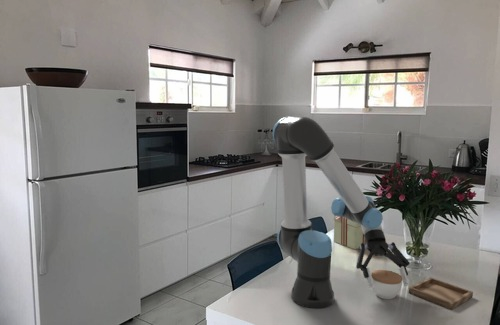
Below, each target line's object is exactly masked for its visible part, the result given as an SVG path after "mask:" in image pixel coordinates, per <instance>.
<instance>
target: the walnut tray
mask: <svg viewBox="0 0 500 325" xmlns="http://www.w3.org/2000/svg"><path fill="white" fill-rule="evenodd" d="M408 294H411V295H413V296H416V297H418V298H421V299H423V300H426V301H428V302H430V303H433V304H436V305H439V306H441V307H444V308H445V309H448V310H451V311H452V310H455V309H456V308H458V307H459V306H461V305H463V304H464V303H466V302H467V301H469V300H472V299H473V294H474V291H471V290H468V289H466V288H463V287H460V286H458V285H454V284H451V283H448V282H445V281H443V280H440V279H437V278H434V277H429V278H428V277H427V278H426V279H425V280H422V281H420V282H418V283H416V284H413V285H411V286H409V287H408Z"/></svg>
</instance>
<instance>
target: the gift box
mask: <svg viewBox="0 0 500 325" xmlns="http://www.w3.org/2000/svg"><path fill="white" fill-rule="evenodd" d="M333 221H334V228H333V242H334V243H336V244H338V245H341V246H344V247H347V248H350V249H352V250H358V249H359V250H360V248H359V246H360V245H361V244H362V243H364V244H365V245H367V244H366V241H365V238H364V234H363V230H362V227H361V225H360V224H358V223H356V222H353V221H351V220H349V219H347V218H344V217H338V216H335V215H333Z"/></svg>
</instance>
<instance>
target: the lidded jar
mask: <svg viewBox="0 0 500 325" xmlns="http://www.w3.org/2000/svg"><path fill="white" fill-rule="evenodd" d="M371 276H372V280H373V283H374V285H373V286H372V287H371V288H372V290H373V291H374V293H375V294H376V296H377V297H378V298H380V299H382V300H383V299H384V300H393V299H394V298H395V297H396V296H397V295H399V293H400V292H401V288H402V284H403V281H402V276H401V275H400V273H397V272H396V271H392V270H387V269H377V270H373V271H372V272H371Z"/></svg>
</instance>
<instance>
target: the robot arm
mask: <svg viewBox="0 0 500 325" xmlns="http://www.w3.org/2000/svg"><path fill="white" fill-rule="evenodd" d="M272 139H273V141H274V142H275V144H276V145H277V155H279V157H281V160H282V161H281V162H282V164H281V165H282V182H283V183H282V184H283V186H282V188H283V206H284V208H283V209H284V211H283V212H284V219H283V220H282V222H281V223H280V229H279V230H278V232H277V236H276V239H277V244H278V246H279V248H280V249H281V250H282V251H283V253H284V254H286V255H287V256H289V257H290V258H292V259H293V260H295V262H297V269H296V271H297V272H296V278H295V281H294V283H293V285H292V289H291V299H292V301H293V302H294V303H296V304H298V305H300V306H302V307H305V308H312V309H323V308H326V307H330V306H332V305H333V304H334V302H335V292H334V290H333V286H332V282H331V269H332V268H331V267H332V252H333V246H332V239H331V237H330V236H329V235H328V234H326V233H325V232H321V231H318V230H313V229H312V222H311V220H309V219H308V207H307V206H308V202H307V201H308V200H307V177H306V176H307V175H306V172H307V171H306V170H307V169H306V157H308V159H309V160H310V161H311V162H315V164H316V165H317V166H318V168H319V169H320V170H321V172H322V174H323V175H324V177H326V179H327V180H328V182H329V183H330V185H331V186H332V188H333V189H334V190H335V192H336V193H337V194H338V196H339V197H336V198H334V199H333V200H332V202H331V206H330V212H331V213H332V214H333V216H334V215H335V216H338V217H344V218H347V219H349V220H351V221H353V222H356V223H358V224H360V225H361V227H362V230H363V234H364V238H365V241H366V244H367V245H365V244H364V243H362V244H361V245H360V246H359V254H358V259H357V262H356V266H355V267H356V269H360V271H361V272H362V274H363V277H364V278H365V279H366V280H367V284H368V288H373V287H372V286H373V285H374V283H373V280H372V276H371V274H372V272H371V270H370V267H368V265H369V263H370V261H371V260H372V259H373V256H375V257H378V256H380V257H383V256H384V257H385V258H388V260H390V261H392V263H394V264H395V265H396V266H397V267H399V268H398V270H399V275H401V276H402V284H403V286H404V287H407V286H408V285H409V284H410V280H409V279H408V276H409V272H408V270H407V267H408V266H409V265H410V261H409V260H408V259H407V258H406V257H405V255H404V253H402V252H401V251H400V249H399V248H398V247H397V245H396V243H395V242H393V241H392V242H391V243H387V241H386V239H387V238H386V236H385V232H384V230H383V227H382V223H383V219H384V218H383V213H382V212H381V211H380V210H379V209H377V208H376V205H375V202H374V200H373V198H372V197H371V196H367V195H365V194H364V192H363V191H362V190H361V188H360V186H359V185H358V184H357V182H356V180H355V179H354V178H353V176H352V175H351V173H350V171H349V170H348V169H347V166H345V164H344V163H343V162H342V159H341V158H340V157H339V156H338V153H337V152H336V151H335V149H334V148H335V144H334V142H333V140H332V139H331V137H329V135H328V133H327V132H326V131H325V130H324V129H323V127H322V126H321V125H320V124H319V123H318V122H317V121H315V120H314V119H312V118H310V117H307V116H293V115H290V116H285V117H282V118H280V119H279V120H278V121H277V122H276V123H274V126H273V129H272ZM366 249H367V250H368V251H369V253H368V255H367V257H366V259H365V260H364V257H365V256H364V255H365V252H366ZM363 260H364V262H363Z"/></svg>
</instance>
